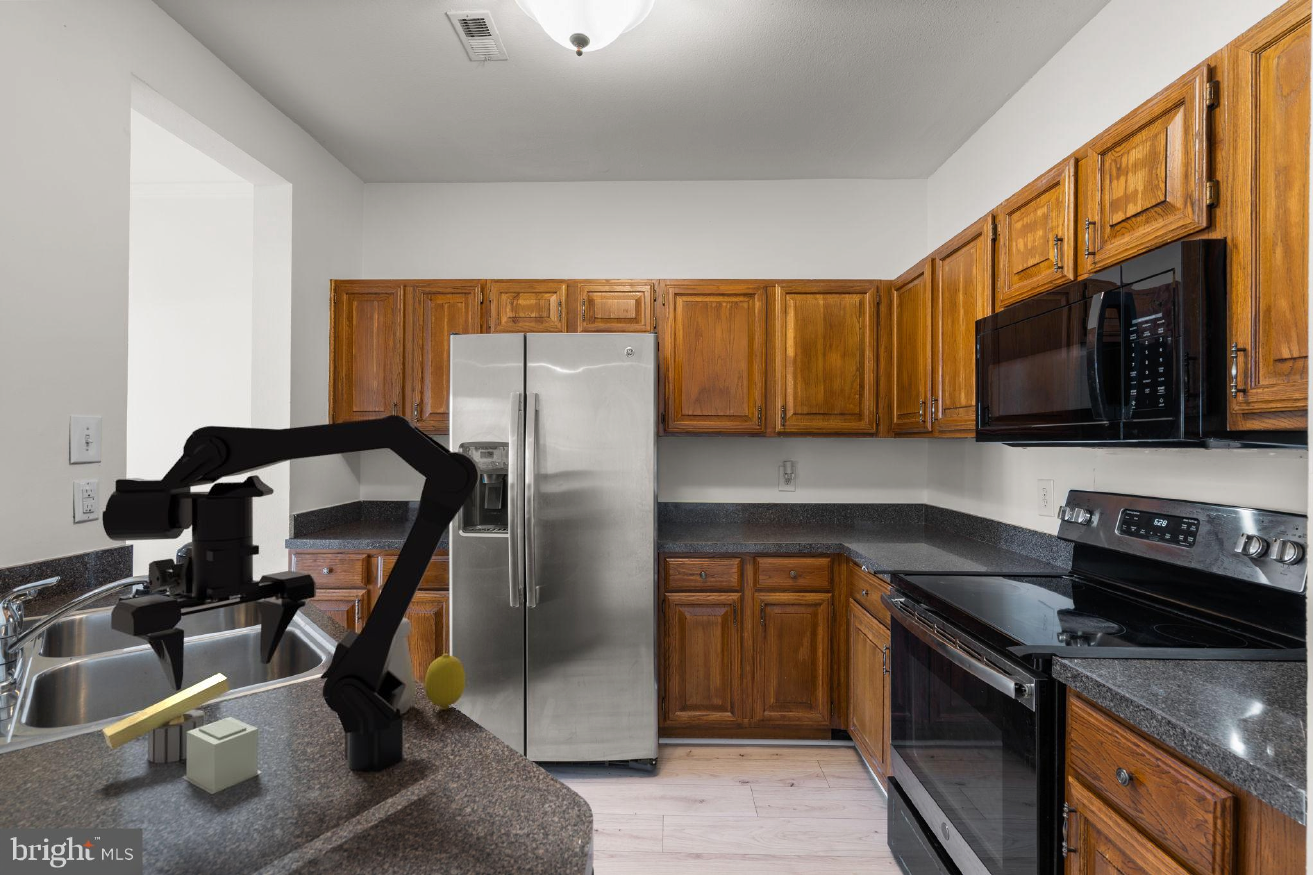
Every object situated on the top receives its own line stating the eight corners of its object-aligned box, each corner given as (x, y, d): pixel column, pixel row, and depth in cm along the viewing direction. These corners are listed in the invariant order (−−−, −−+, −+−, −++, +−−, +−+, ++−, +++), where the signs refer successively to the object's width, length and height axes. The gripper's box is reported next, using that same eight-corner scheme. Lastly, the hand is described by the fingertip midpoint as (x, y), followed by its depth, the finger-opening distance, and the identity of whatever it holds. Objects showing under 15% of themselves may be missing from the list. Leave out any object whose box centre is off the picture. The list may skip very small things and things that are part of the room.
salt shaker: (400, 720, 89) (400, 626, 89) (363, 716, 91) (364, 623, 91) (423, 703, 95) (424, 615, 95) (388, 700, 96) (389, 613, 96)
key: (231, 716, 84) (219, 673, 82) (238, 721, 83) (226, 678, 81) (117, 776, 74) (102, 729, 73) (124, 783, 73) (108, 736, 72)
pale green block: (257, 772, 73) (258, 726, 73) (214, 791, 69) (214, 742, 69) (229, 759, 76) (230, 714, 76) (186, 776, 72) (186, 729, 72)
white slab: (283, 772, 75) (283, 729, 75) (186, 815, 67) (186, 766, 67) (207, 737, 84) (207, 698, 84) (113, 771, 75) (113, 728, 75)
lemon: (426, 720, 90) (426, 662, 90) (423, 704, 95) (424, 650, 95) (467, 713, 92) (467, 657, 92) (462, 699, 97) (463, 645, 97)
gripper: (268, 523, 85) (268, 641, 85) (88, 543, 69) (88, 689, 69) (318, 529, 79) (318, 656, 79) (135, 552, 63) (136, 712, 63)
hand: (223, 675), depth 73 cm, fingers open, 9 cm apart
